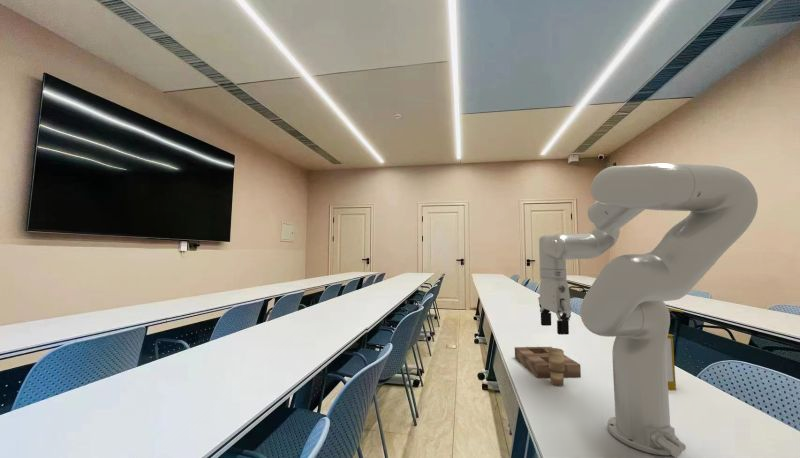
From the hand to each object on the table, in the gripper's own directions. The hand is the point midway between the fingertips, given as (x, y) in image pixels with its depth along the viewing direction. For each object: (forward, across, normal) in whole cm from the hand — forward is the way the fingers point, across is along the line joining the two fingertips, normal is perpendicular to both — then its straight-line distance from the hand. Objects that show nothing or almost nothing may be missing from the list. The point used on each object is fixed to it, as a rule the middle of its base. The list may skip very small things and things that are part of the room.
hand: (554, 329), depth 95 cm
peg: (+16, -1, 0) cm, 16 cm away
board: (+16, +12, -3) cm, 21 cm away
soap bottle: (+16, -3, -32) cm, 36 cm away
